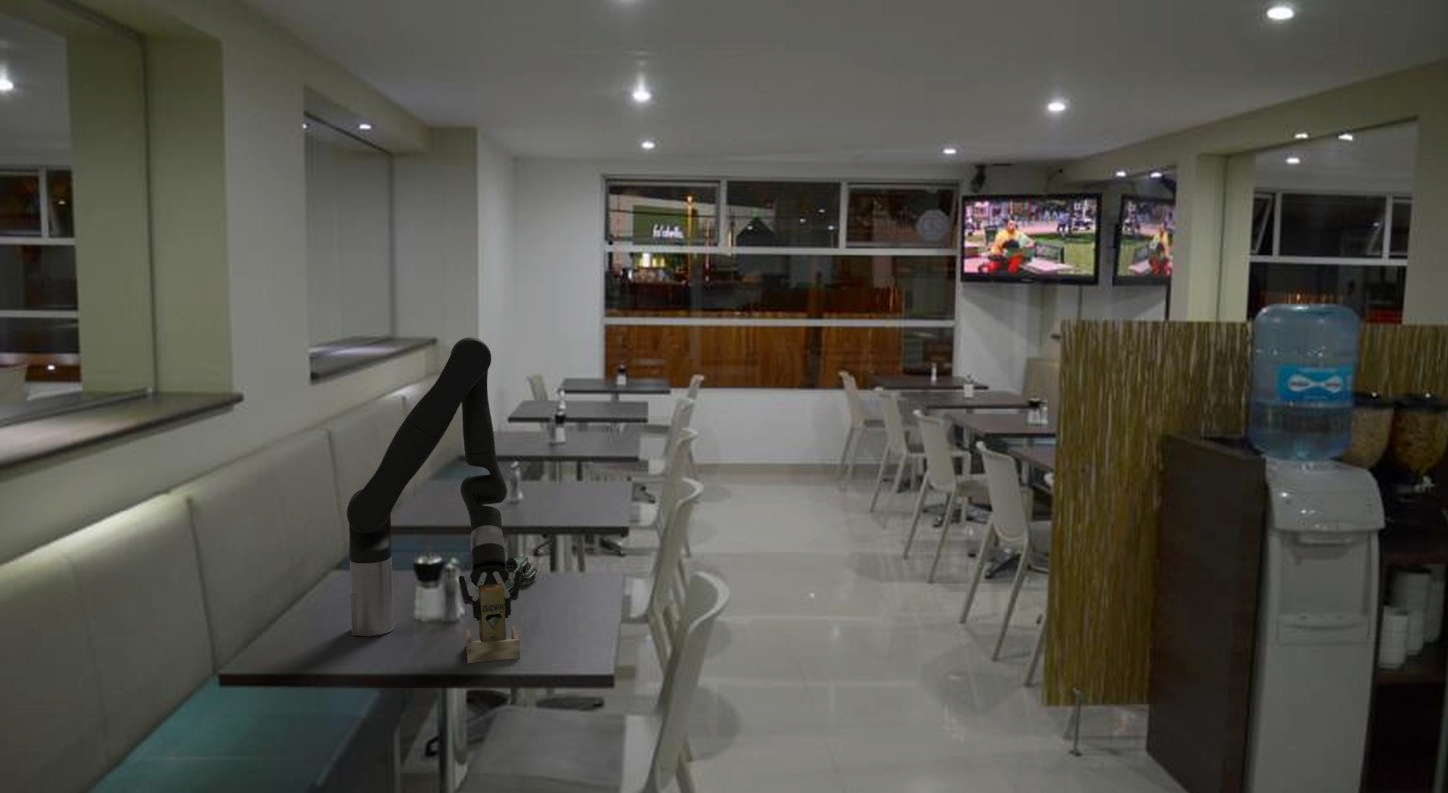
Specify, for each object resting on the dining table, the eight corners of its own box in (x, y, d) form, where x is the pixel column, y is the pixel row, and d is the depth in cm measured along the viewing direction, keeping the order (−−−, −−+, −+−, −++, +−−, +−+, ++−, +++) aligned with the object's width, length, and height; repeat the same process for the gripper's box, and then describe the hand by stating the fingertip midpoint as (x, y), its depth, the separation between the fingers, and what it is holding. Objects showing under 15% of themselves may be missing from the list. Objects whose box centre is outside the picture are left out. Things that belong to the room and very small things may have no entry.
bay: (467, 662, 226) (467, 644, 226) (466, 645, 237) (465, 628, 237) (519, 657, 229) (519, 640, 229) (516, 640, 240) (515, 623, 239)
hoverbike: (542, 576, 292) (541, 547, 291) (512, 604, 267) (511, 572, 266) (508, 575, 293) (508, 546, 292) (476, 603, 268) (475, 571, 267)
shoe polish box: (479, 638, 234) (477, 585, 233) (501, 635, 236) (500, 582, 235) (483, 645, 230) (481, 591, 228) (505, 642, 231) (504, 589, 230)
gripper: (455, 544, 236) (458, 612, 226) (520, 539, 239) (526, 606, 229) (455, 561, 241) (458, 628, 231) (519, 556, 245) (525, 622, 235)
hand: (492, 617), depth 231 cm, fingers closed on shoe polish box, 5 cm apart
